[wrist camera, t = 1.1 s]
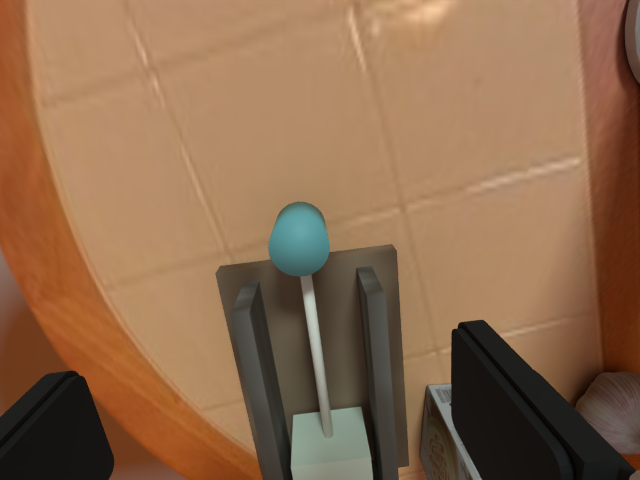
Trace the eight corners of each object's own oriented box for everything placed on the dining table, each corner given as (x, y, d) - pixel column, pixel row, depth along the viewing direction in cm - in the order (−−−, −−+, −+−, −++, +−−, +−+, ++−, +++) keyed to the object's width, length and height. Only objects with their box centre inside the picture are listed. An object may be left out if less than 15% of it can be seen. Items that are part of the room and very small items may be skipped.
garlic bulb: (564, 434, 35) (635, 518, 27) (553, 377, 33) (627, 452, 25) (640, 411, 35) (734, 490, 27) (633, 352, 32) (734, 420, 25)
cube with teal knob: (338, 196, 25) (346, 212, 20) (366, 458, 33) (377, 517, 28) (255, 206, 25) (243, 225, 20) (302, 466, 33) (301, 526, 28)
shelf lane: (392, 244, 28) (416, 276, 22) (404, 452, 35) (426, 521, 29) (220, 266, 28) (195, 304, 22) (265, 469, 35) (256, 543, 29)
